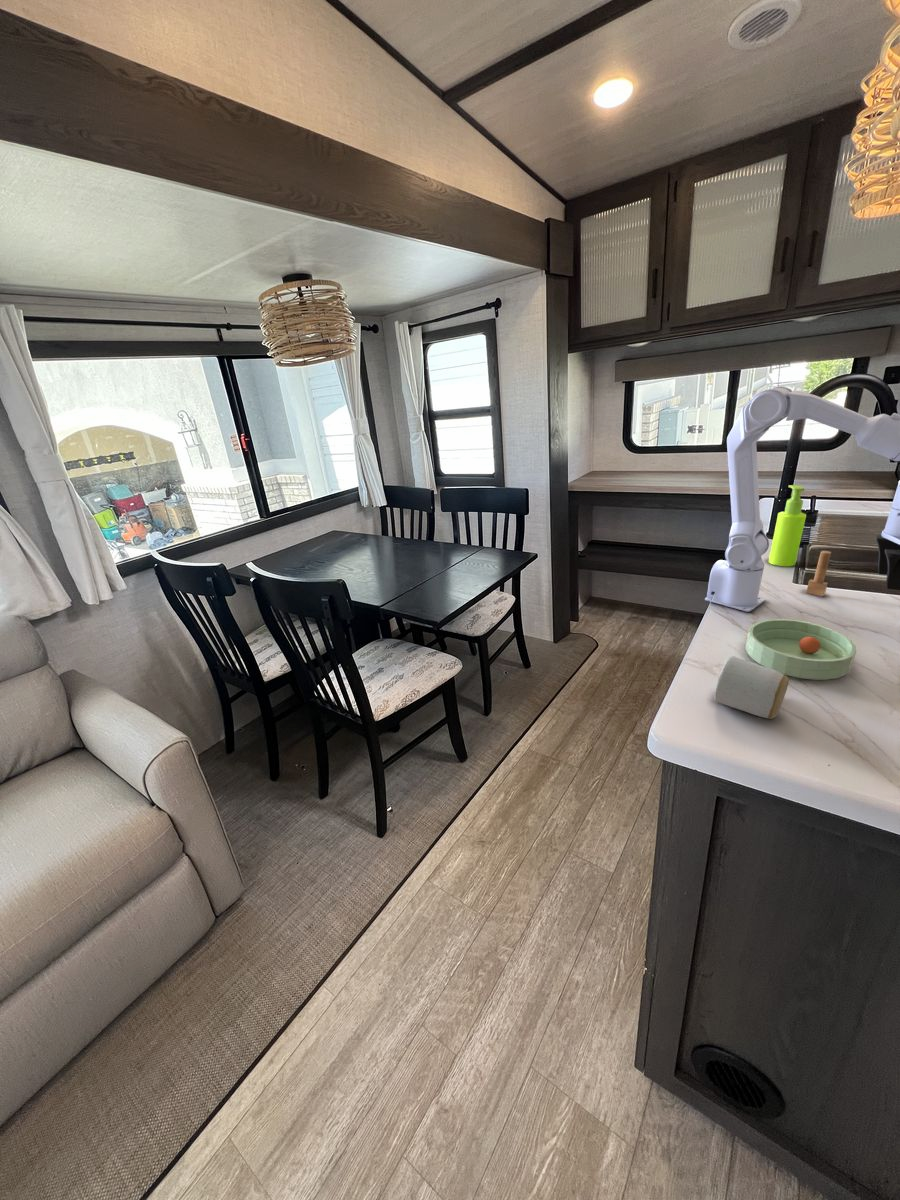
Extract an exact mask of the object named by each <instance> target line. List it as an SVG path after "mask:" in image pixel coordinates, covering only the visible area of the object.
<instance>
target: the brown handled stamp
mask: <svg viewBox="0 0 900 1200" xmlns="http://www.w3.org/2000/svg"><path fill="white" fill-rule="evenodd" d="M831 555H832V551H829V550H821V551H820V553H819V558H818V562H817V565H816V568H815V573H814V577H813V579H809V580H808V583H807V588H806V594H809V595H814V596H818V597H823V598H824V596H825V595H826V593H827V592H826V591H827V588H828V585H829V582H827V581H826V582H825V579H826V575H827V571H828V567H829V564H830V563H829V562H830V559H831Z"/></svg>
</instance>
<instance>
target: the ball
mask: <svg viewBox="0 0 900 1200" xmlns="http://www.w3.org/2000/svg"><path fill="white" fill-rule="evenodd" d="M799 647H800V649H801V650H802V651H803V652H805V653H808V654H812V653H816V652H817V651H818V650H819V649H820V643H819V641H818V640H817V639H816V638H813V637H805V638H803V639H801V641H800V642H799Z"/></svg>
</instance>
